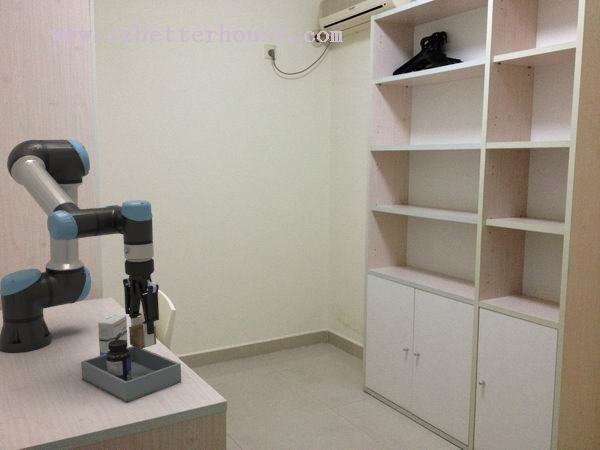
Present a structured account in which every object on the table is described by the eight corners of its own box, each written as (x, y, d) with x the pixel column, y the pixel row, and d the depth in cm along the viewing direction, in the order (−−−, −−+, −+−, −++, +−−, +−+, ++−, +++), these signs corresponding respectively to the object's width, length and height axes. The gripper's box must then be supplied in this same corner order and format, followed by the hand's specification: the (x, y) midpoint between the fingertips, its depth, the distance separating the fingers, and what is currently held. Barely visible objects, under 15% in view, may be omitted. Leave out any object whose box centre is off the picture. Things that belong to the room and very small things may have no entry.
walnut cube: (130, 344, 153) (129, 327, 152) (145, 340, 157) (145, 322, 156) (140, 349, 150) (139, 330, 149) (156, 344, 154) (155, 326, 153)
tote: (82, 379, 153) (81, 361, 152) (135, 361, 165) (135, 345, 164) (126, 402, 138) (125, 383, 138) (181, 381, 151) (180, 363, 150)
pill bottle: (123, 375, 153) (121, 336, 152) (136, 381, 149) (134, 341, 148) (103, 383, 149) (100, 343, 147) (116, 389, 145) (113, 348, 143)
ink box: (114, 362, 165) (112, 323, 163) (99, 361, 166) (97, 322, 164) (129, 351, 173) (127, 314, 171) (114, 350, 174) (112, 313, 172)
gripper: (108, 256, 153) (112, 339, 156) (146, 265, 141) (150, 354, 145) (132, 252, 159) (136, 332, 162) (171, 260, 147) (174, 346, 150)
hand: (143, 342), depth 153 cm, fingers closed on walnut cube, 5 cm apart
